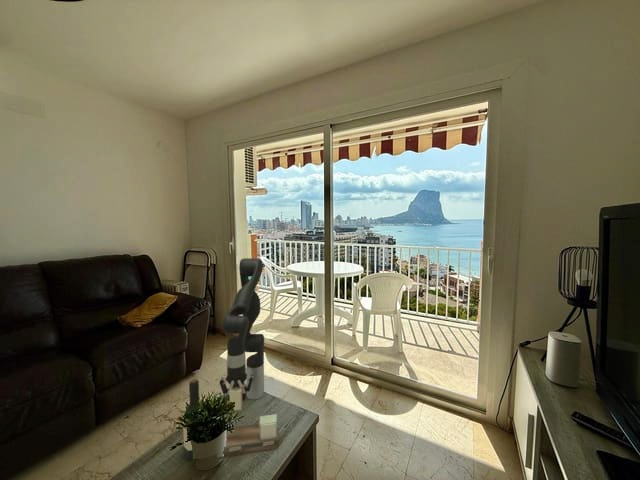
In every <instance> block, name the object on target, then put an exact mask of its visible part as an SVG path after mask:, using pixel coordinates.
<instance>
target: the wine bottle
mask: <svg viewBox="0 0 640 480" xmlns="http://www.w3.org/2000/svg"><path fill="white" fill-rule="evenodd" d="M188 387H189V388H188V390H189V404H188V406H187V407H188V408H186V409H185V411H184V414H186V413H188V412H191V410H193V409H197V408H198V407H199V406H200V403H197V401H198V400H199V401H200V384H199V379H198V378H192V379H191V380H190V381H189V384H188ZM184 414H183V415H184ZM182 429H183V430H182V431H183V457H184V458H185V459H186V460H187V461H189V462H190V461H194V460H193V451H192V445H191V442H190V441H188V442H185V441H187V429H186V428H184V427H182Z"/></svg>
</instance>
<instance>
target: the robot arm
mask: <svg viewBox="0 0 640 480" xmlns="http://www.w3.org/2000/svg"><path fill="white" fill-rule="evenodd" d="M263 263H264V262H263V260H262V259H260V258H250V257H249V258H247V257H245V258H241V259H240V262H239V268H238V270H239V278H240V285H241V287H240V289H239V290H238V291H237V292H236V294H235V298H234V300H233V303H232V305H231V307H230V309H229V311H228V313H226V315H225V316H224V317H223V321H222V322H221V329H222V331H223V332H224V334H238V335H236V336H232V337H230V338H228V340H227V342H226V343H227V345H226V346H227V348H226V349H227V350H226V351H227V355H226V377H221V378H220V379H219V386H220V389H221V392H222V393H223V395H225V394H226V395H227V402H228V403H229V402H230V389H232V387H236V386H238V387H239V386H240V388H241V389H242V392H243V393H242V401H243V402H245V400H246V399H249V400H258V399H260V398H262V397H264V395H265V361H264V360H265V336H264V333H251V329H252V327H253V325H254V323H255V322H256V320H257V319H258V317H259V315H260V314H261V299H260V297H259V295H258V293H257V292H256V287H257V285H258V283H259V281H260V278H261V276H262V273H263V270H264V264H263ZM246 353H254V354H251V355H249V356H248V357H247V358H246ZM226 382H227V383H228V384H229V387H227V385H226ZM245 382H246V383H245Z"/></svg>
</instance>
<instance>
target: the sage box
mask: <svg viewBox="0 0 640 480" xmlns="http://www.w3.org/2000/svg"><path fill="white" fill-rule="evenodd" d="M277 419H278V418H277V413H274V414H268V415H261V416H259V424H260V441H264V440H270V439H276V438H277V426H278V421H277Z"/></svg>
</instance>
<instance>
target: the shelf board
mask: <svg viewBox="0 0 640 480" xmlns="http://www.w3.org/2000/svg"><path fill="white" fill-rule="evenodd" d="M278 426H279V425H277V438H276V439H270V440H264V441H260V423H256V424H251V425H244V426H236V427H233V428H234V433H230V432H228V433H227V441H226V447H224V451H223V454H224V457H223V458H227V457H234V456H240V455H241V456H242V455H246V454H250V453H257V452H263V451H267V450H269V451H270V450H276V449H279V431H278Z"/></svg>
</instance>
